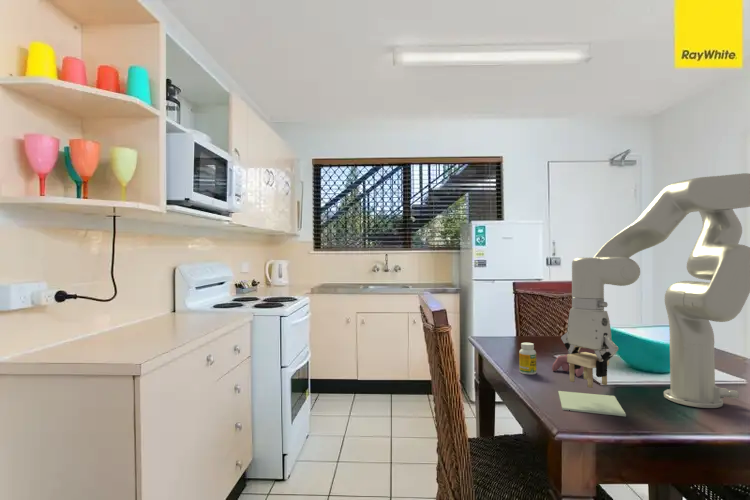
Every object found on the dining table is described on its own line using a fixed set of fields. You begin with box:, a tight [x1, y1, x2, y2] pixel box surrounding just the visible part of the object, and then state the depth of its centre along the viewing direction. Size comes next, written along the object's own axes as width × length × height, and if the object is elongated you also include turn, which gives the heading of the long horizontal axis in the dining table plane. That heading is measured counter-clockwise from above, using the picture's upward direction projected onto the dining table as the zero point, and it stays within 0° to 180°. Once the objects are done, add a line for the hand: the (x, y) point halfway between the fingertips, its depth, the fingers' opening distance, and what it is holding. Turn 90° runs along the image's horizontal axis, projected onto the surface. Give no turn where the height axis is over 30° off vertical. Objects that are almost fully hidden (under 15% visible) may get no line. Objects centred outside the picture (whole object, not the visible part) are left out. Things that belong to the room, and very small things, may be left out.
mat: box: [557, 390, 627, 417], centre depth 111 cm, size 14×14×1 cm
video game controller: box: [551, 354, 584, 378], centre depth 140 cm, size 10×5×7 cm, turn 35°
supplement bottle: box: [518, 342, 538, 376], centre depth 140 cm, size 5×5×10 cm
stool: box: [566, 351, 610, 389], centre depth 111 cm, size 7×7×7 cm
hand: (588, 372), depth 111 cm, fingers closed on stool, 7 cm apart
